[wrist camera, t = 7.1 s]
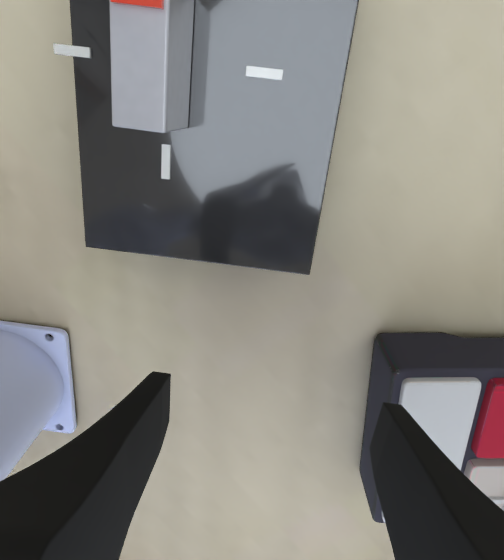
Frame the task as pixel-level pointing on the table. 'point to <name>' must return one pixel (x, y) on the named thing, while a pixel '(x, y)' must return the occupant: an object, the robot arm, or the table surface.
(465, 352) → the red and grey box
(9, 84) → the table surface
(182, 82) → the knob
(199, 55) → the panel
